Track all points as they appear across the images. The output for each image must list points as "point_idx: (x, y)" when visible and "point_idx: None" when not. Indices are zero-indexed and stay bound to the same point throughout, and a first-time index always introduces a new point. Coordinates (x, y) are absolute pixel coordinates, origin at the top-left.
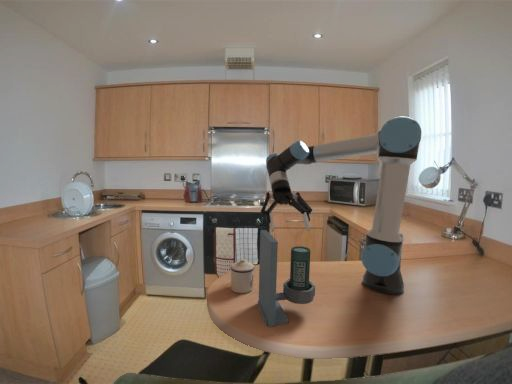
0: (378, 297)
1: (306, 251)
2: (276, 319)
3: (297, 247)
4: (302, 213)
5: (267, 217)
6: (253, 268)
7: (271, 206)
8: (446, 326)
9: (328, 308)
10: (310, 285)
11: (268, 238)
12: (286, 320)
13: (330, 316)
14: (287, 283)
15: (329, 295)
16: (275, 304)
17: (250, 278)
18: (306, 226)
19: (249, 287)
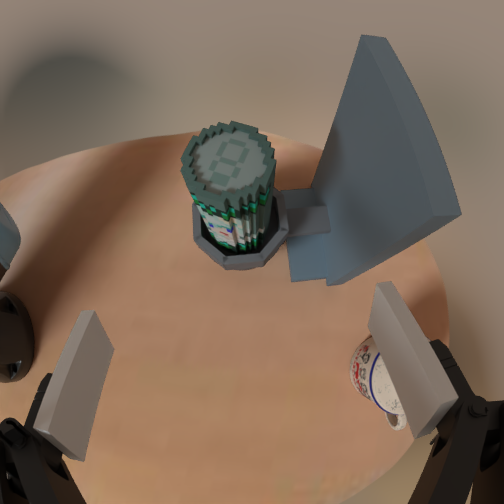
0: (35, 285)
1: (212, 129)
2: (307, 192)
3: (233, 195)
4: (69, 477)
5: (454, 367)
6: (374, 365)
7: (456, 490)
8: (13, 184)
9: (162, 246)
10: (201, 222)
11: (402, 70)
12: (284, 191)
13: (173, 213)
14: (273, 237)
15: (132, 310)
16: (320, 160)
17: (374, 346)
18: (99, 352)
19: (367, 342)
